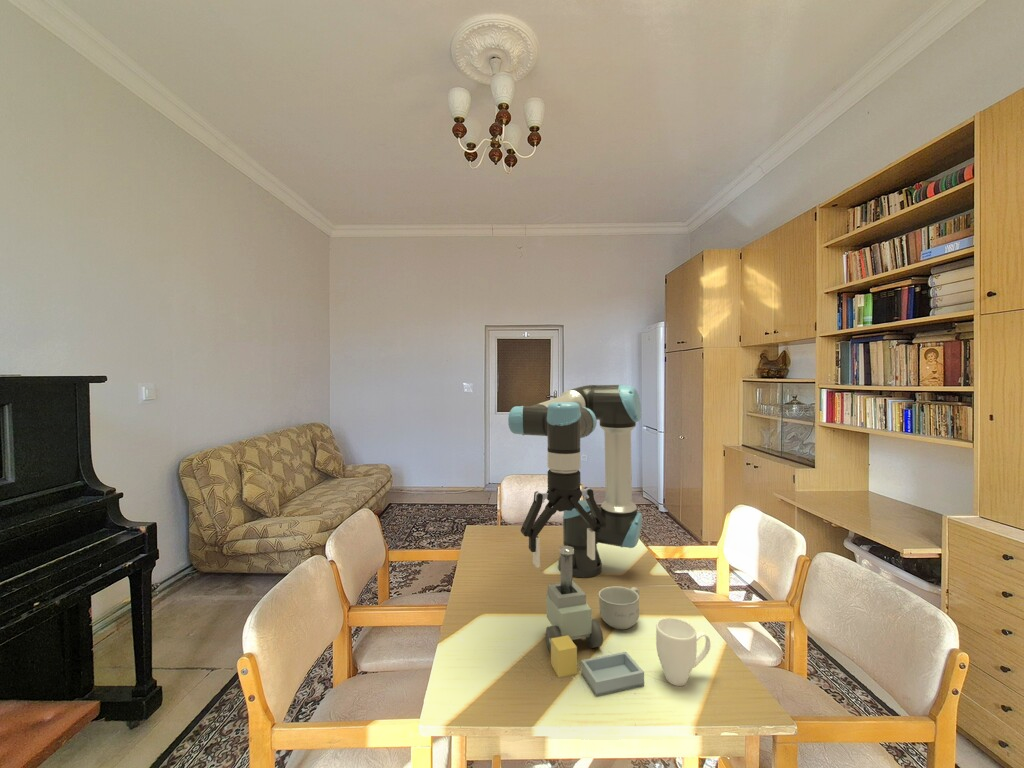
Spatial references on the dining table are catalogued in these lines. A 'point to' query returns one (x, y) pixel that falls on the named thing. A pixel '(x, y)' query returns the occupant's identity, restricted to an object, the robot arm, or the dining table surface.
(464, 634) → the dining table surface
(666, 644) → the mug
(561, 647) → the block
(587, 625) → the trolley
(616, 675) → the tray
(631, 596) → the teacup
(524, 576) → the dining table surface
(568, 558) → the flashlight
